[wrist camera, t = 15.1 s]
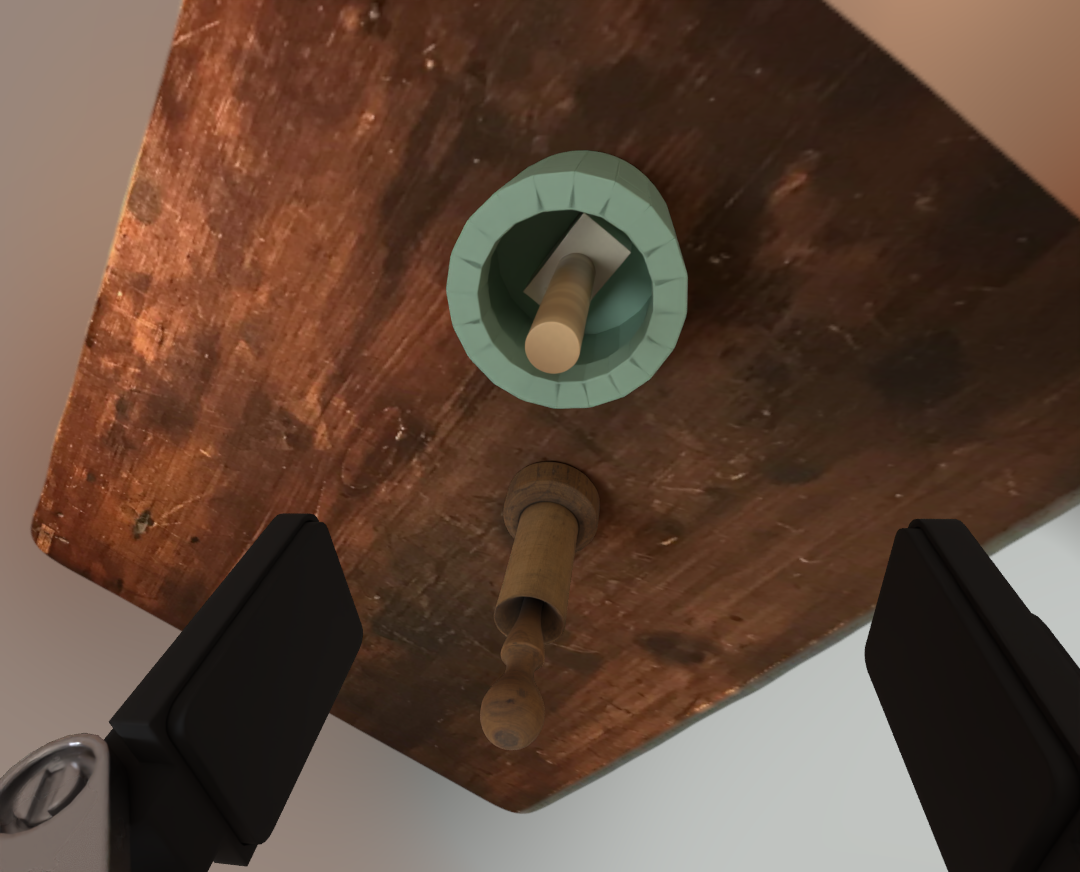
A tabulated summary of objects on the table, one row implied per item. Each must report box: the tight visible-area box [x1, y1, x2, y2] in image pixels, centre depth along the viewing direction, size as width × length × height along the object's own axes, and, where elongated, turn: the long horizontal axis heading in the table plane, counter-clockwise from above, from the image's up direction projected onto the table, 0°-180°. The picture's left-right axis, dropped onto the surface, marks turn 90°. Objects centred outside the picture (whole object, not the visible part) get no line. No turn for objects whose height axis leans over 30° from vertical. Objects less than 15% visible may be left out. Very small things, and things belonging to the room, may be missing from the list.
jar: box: [446, 150, 688, 409], centre depth 29 cm, size 10×10×9 cm
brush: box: [523, 212, 631, 374], centre depth 27 cm, size 5×3×13 cm, turn 143°
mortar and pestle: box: [480, 462, 600, 750], centre depth 34 cm, size 7×6×18 cm
